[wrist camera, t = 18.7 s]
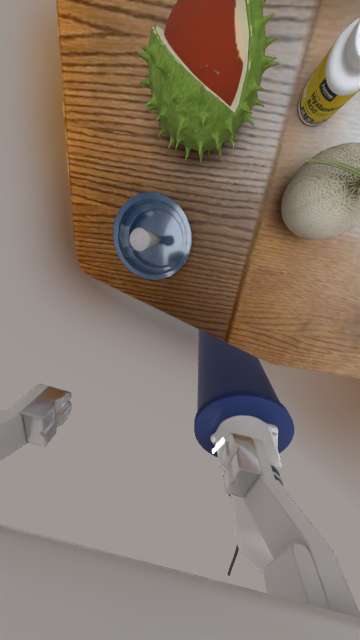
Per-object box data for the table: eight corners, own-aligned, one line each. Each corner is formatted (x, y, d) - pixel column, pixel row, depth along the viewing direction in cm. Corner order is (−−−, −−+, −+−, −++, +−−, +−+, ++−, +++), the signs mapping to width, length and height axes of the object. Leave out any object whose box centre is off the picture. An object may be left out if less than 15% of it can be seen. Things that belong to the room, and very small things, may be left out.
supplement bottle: (289, 120, 27) (334, 58, 18) (311, 67, 24) (375, -34, 16) (323, 133, 27) (385, 79, 18) (348, 82, 25) (433, -9, 16)
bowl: (202, 260, 35) (202, 263, 30) (144, 283, 38) (134, 289, 33) (178, 187, 31) (173, 175, 26) (115, 219, 34) (98, 214, 29)
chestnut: (89, 55, 20) (186, -241, 12) (164, 137, 32) (238, 17, 24) (163, 159, 18) (333, -100, 10) (213, 204, 30) (309, 100, 22)
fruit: (297, 146, 28) (393, 53, 14) (356, 189, 29) (496, 143, 15) (253, 216, 32) (293, 197, 18) (306, 251, 33) (381, 258, 19)
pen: (168, 239, 34) (149, 237, 21) (159, 251, 35) (136, 256, 22) (158, 229, 33) (131, 221, 20) (149, 241, 34) (118, 241, 21)
